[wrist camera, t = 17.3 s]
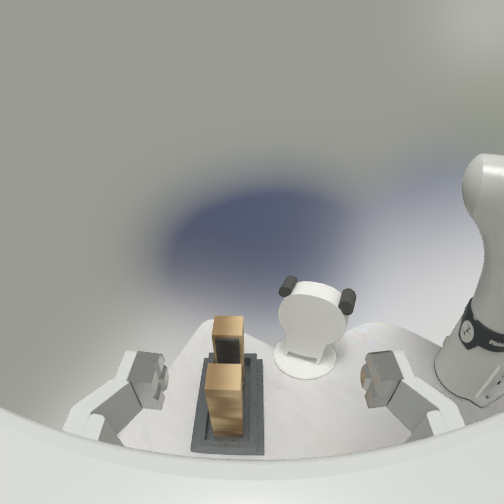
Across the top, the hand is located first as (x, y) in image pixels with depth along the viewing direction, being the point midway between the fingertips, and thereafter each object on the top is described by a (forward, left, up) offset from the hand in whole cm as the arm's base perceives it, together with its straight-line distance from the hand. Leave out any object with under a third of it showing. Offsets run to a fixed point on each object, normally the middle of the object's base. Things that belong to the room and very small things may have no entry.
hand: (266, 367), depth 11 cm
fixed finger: (+4, -24, -31) cm, 39 cm away
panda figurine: (-9, -30, -32) cm, 45 cm away
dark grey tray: (+4, -19, -32) cm, 37 cm away
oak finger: (+4, -15, -31) cm, 34 cm away
